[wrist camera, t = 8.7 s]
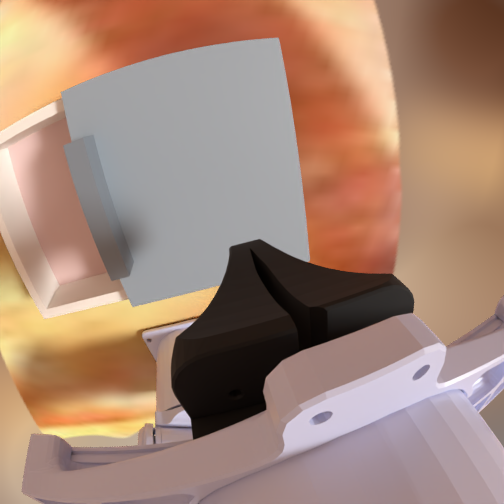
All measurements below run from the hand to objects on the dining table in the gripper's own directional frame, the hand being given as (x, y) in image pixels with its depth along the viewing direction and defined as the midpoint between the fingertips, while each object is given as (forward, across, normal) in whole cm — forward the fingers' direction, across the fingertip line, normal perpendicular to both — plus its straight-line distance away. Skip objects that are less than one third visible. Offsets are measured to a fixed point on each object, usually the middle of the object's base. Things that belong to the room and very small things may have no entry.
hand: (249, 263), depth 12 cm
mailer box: (+10, +10, -3) cm, 15 cm away
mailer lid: (+6, +2, -3) cm, 7 cm away
